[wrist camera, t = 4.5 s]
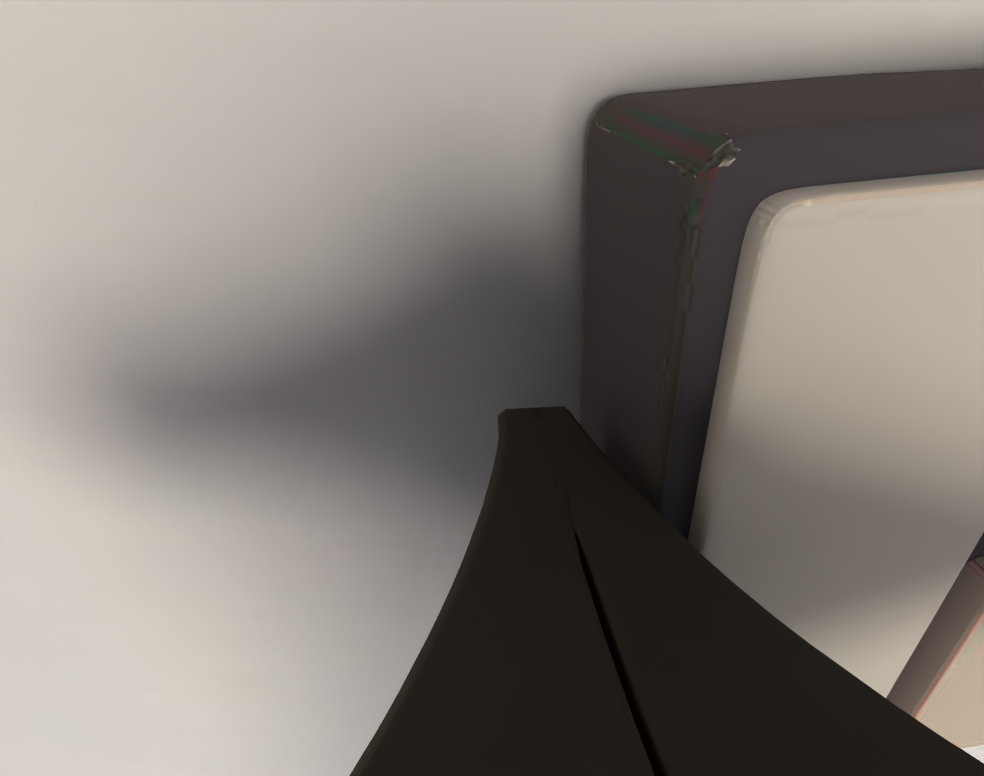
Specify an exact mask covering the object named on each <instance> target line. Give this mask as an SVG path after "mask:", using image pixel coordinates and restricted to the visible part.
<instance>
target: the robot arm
mask: <svg viewBox="0 0 984 776" xmlns="http://www.w3.org/2000/svg"><path fill="white" fill-rule="evenodd" d="M498 430H499V440H498V447H497V452H496V457H495V462H494V467H493V471H492V475H491V478H490V482H489V485H488V489H487V492H486V496H485V499H484V503H483V506H482V509H481V512H480V515H479V518H478V521H477V523H476V526H475V529H474V532H473V534H472V537H471V540H470V542H469V545H468V548H467V550H466V553H465V556H464V558H463V561H462V563H461V566H460V568H459V570H458V573H457V575H456V578H455V580H454V582H453V585H452V587H451V589H450V591H449V593H448V596H447V598H446V600H445V602H444V604H443V606H442V609H441V611H440V613H439V615H438V617H437V619H436V621H435V623H434V625H433V628H432V630H431V632H430V634H429V636H428V638H427V640H426V642H425V643H424V645H423V647H422V649H421V651H420V653H419V655H418V657H417V659H416V661H415V662H414V664H413V666H412V668H411V670H410V672H409V674H408V676H407V678H406V680H405V682H404V683H403V685H402V687H401V689H400V691H399V693H398V695H397V696H396V698H395V700H394V702H393V704H392V705H391V707H390V709H389V711H388V713H387V714H386V716H385V718H384V720H383V721H382V723H381V725H380V726H379V728H378V730H377V732H376V733H375V735H374V737H373V738H372V740H371V741H370V743H369V745H368V746H367V748H366V750H365V751H364V753H363V755H362V756H361V758H360V759H359V761H358V763H357V764H356V766H355V768H354V769H353V771H352V773H351V774H350V776H984V764H983V763H982V762H980V761H979V760H977V759H976V758H974V757H973V756H971V755H970V754H968V753H966V752H965V751H963V750H962V749H960V748H959V747H957V746H956V745H954V744H953V743H951V742H949V741H948V740H946V739H945V738H943V737H942V736H940V735H939V734H937V733H936V732H934V731H933V730H931V729H930V728H928V727H927V726H925V725H924V724H922V723H921V722H919V721H918V720H917V719H915V718H914V717H912V716H911V715H909V714H908V713H906V712H905V711H903V710H902V709H900V708H899V707H897V706H896V705H895V704H893V703H892V702H890V701H889V700H888V699H886V698H885V697H883V696H882V695H881V694H879V693H878V692H876V691H875V690H874V689H872V688H871V687H869V686H868V685H867V684H865V683H864V682H863V681H861V680H860V679H858V678H857V677H856V676H854V675H853V674H851V673H850V672H849V671H847V670H846V669H844V668H843V667H842V666H840V665H839V664H837V663H836V662H835V661H833V660H832V659H830V658H829V657H828V656H826V655H825V654H823V653H822V652H821V651H819V650H818V649H817V648H815V647H814V646H812V645H811V644H810V643H808V642H807V641H806V640H804V639H803V638H802V637H800V636H799V635H798V634H797V633H795V632H794V631H793V630H791V629H790V628H789V627H787V626H786V625H785V624H784V623H782V622H781V621H780V620H778V619H777V618H776V617H775V616H773V615H772V614H771V613H770V612H768V611H767V610H766V609H765V608H764V607H762V606H761V605H760V604H759V603H757V602H756V601H755V600H754V599H753V598H751V597H750V596H749V595H748V594H747V593H745V592H744V591H743V590H742V589H741V588H739V587H738V586H737V585H736V584H735V583H733V582H732V581H731V580H730V579H729V578H728V577H727V576H725V575H724V574H723V573H722V572H721V571H720V570H719V569H717V568H716V567H715V566H714V565H713V564H712V563H711V562H710V561H709V560H707V559H706V558H705V557H704V556H703V555H702V554H701V553H700V552H699V551H698V550H697V549H695V548H694V547H693V546H692V545H691V544H690V543H689V542H688V541H687V540H686V539H685V538H684V537H683V536H682V535H681V534H680V533H679V532H678V531H677V530H676V529H675V528H673V527H672V526H671V525H670V524H669V523H668V522H667V521H666V520H665V519H664V518H663V517H662V516H661V515H660V514H659V513H658V512H657V511H656V510H655V509H654V508H653V507H652V506H651V504H650V503H649V502H648V501H647V500H646V499H645V498H644V497H643V496H642V495H641V494H640V493H639V492H638V491H637V490H636V488H635V487H634V486H633V485H632V484H631V483H630V482H629V481H628V480H627V479H626V478H625V477H624V476H623V475H622V473H621V472H620V471H619V470H618V469H617V468H616V467H615V466H614V464H613V463H612V462H611V461H610V460H609V459H608V458H607V456H606V455H605V454H604V453H603V452H602V450H601V449H600V448H599V447H598V446H597V445H596V443H595V442H594V441H593V440H592V439H591V437H590V436H589V435H588V434H587V432H586V431H585V430H584V429H583V428H582V426H581V425H580V424H579V422H578V421H577V420H576V419H575V417H574V416H573V415H572V414H571V412H570V411H569V410H567V409H566V408H565V407H564V406H559V407H540V408H521V409H506V410H504V411H503V412H502V413H501V414H500V415H499V416H498Z"/></svg>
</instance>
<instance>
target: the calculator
mask: <svg viewBox="0 0 984 776" xmlns="http://www.w3.org/2000/svg"><path fill="white" fill-rule="evenodd" d="M581 426H582V428H583V429H584V430H585V431H586V432H587V434H588V435H589V436H590V437H591V439H592V440H593V441H594V442H595V443H596V445H597V446H598V447H599V448H600V449H601V450H602V452H603V453H604V454H605V455H606V456H607V458H608V459H609V460H610V461H611V462H612V463H613V464H614V466H615V467H616V468H617V469H618V470H619V471H620V472H621V473H622V475H623V476H624V477H625V478H626V479H627V480H628V481H629V482H630V483H631V484H632V485H633V486H634V487H635V488H636V490H637V491H638V492H639V493H640V494H641V495H642V496H643V497H644V498H645V499H646V500H647V501H648V502H649V503H650V504H651V506H652V507H653V508H654V509H655V510H656V511H657V512H658V513H659V514H660V515H661V516H662V517H663V518H664V519H665V520H666V521H667V522H668V523H669V524H670V525H671V526H672V527H673V528H675V529H676V530H677V531H678V532H679V533H680V534H681V535H682V536H683V537H684V538H685V539H686V540H687V541H688V542H689V543H690V544H691V545H692V546H693V547H694V548H695V549H697V550H698V551H699V552H700V553H701V554H702V555H703V556H704V557H705V558H706V559H707V560H709V561H710V562H711V563H712V564H713V565H714V566H715V567H716V568H717V569H719V570H720V571H721V572H722V573H723V574H724V575H725V576H727V577H728V578H729V579H730V580H731V581H732V582H733V583H735V584H736V585H737V586H738V587H739V588H741V589H742V590H743V591H744V592H745V593H747V594H748V595H749V596H750V597H751V598H753V599H754V600H755V601H756V602H757V603H759V604H760V605H761V606H762V607H764V608H765V609H766V610H767V611H768V612H770V613H771V614H772V615H773V616H775V617H776V618H777V619H778V620H780V621H781V622H782V623H784V624H785V625H786V626H787V627H789V628H790V629H791V630H793V631H794V632H795V633H797V634H798V635H799V636H800V637H802V638H803V639H804V640H806V641H807V642H808V643H810V644H811V645H812V646H814V647H815V648H817V649H818V650H819V651H821V652H822V653H823V654H825V655H826V656H828V657H829V658H830V659H832V660H833V661H835V662H836V663H837V664H839V665H840V666H842V667H843V668H844V669H846V670H847V671H849V672H850V673H851V674H853V675H854V676H856V677H857V678H858V679H860V680H861V681H863V682H864V683H865V684H867V685H868V686H869V687H871V688H872V689H874V690H875V691H876V692H878V693H879V694H881V695H882V696H883V697H885V698H886V699H888V700H889V701H890V702H892V703H893V704H895V705H896V706H897V707H899V708H900V709H902V710H903V711H905V712H906V713H908V714H909V715H911V716H912V717H914V718H915V719H917V720H918V721H919V722H921V723H922V724H924V725H925V726H927V727H928V728H930V729H931V730H933V731H934V732H936V733H937V734H939V735H940V736H942V737H943V738H945V739H946V740H948V741H949V742H951V743H953V744H954V745H956V746H957V747H959V748H965V747H971V746H977V745H983V744H984V69H974V70H957V71H932V72H906V73H880V74H860V75H847V76H834V77H821V78H808V79H797V80H785V81H774V82H762V83H751V84H739V85H728V86H717V87H705V88H694V89H682V90H671V91H659V92H648V93H638V94H628V95H623V96H619V97H616V98H614V99H611V100H610V101H608V102H607V103H606V104H605V105H603V106H602V107H601V108H600V109H599V111H598V112H597V114H596V115H595V117H594V119H593V121H592V124H591V127H590V133H589V142H588V164H587V203H586V242H585V280H584V319H583V357H582V396H581Z"/></svg>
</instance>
